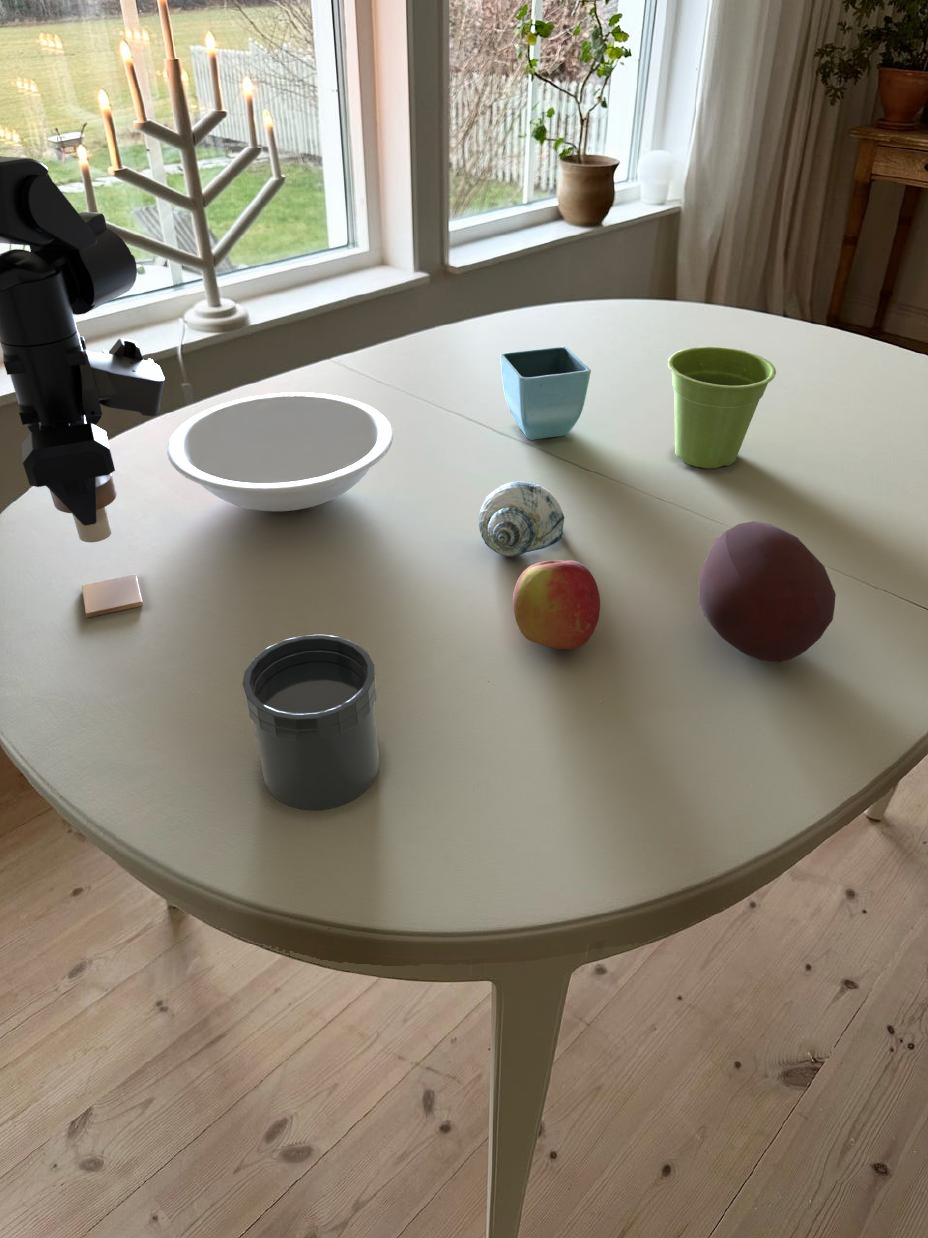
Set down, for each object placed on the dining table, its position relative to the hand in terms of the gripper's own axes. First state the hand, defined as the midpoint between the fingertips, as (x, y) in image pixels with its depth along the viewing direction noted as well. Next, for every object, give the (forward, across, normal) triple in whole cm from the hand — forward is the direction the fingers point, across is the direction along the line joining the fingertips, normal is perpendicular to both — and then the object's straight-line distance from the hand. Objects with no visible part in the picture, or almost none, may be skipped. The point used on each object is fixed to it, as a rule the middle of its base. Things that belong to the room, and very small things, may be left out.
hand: (87, 509), depth 81 cm
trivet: (+10, 0, 0) cm, 10 cm away
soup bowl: (+10, +14, -20) cm, 27 cm away
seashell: (+10, -6, -39) cm, 41 cm away
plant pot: (+10, +3, -68) cm, 69 cm away
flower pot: (+10, +17, -53) cm, 57 cm away
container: (+10, -29, -12) cm, 33 cm away
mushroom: (+3, 0, 0) cm, 3 cm away
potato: (+10, -29, -51) cm, 60 cm away
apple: (+10, -22, -35) cm, 43 cm away
